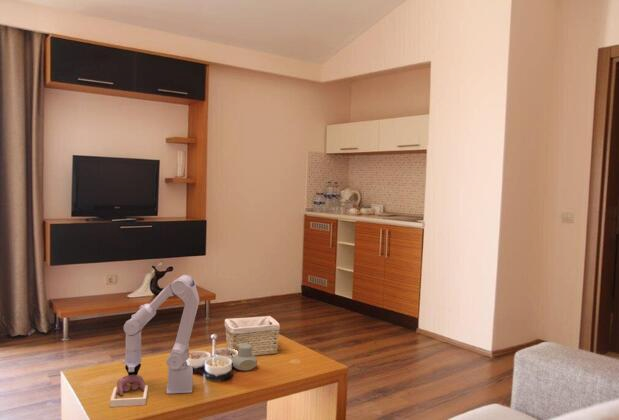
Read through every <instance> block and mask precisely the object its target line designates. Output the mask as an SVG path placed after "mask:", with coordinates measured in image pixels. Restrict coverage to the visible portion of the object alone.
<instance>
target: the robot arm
mask: <svg viewBox="0 0 619 420" xmlns="http://www.w3.org/2000/svg"><path fill="white" fill-rule="evenodd" d="M174 296H177V298H180V299H181V301H182V302H183V303H184V306H183V311H182V315H181V318H180V321H179V322H180V323H179V327H178V330H177V334H176V339H175V342H174V345H173V347H172V348H171V352H170V354H169V356H167V359H166V365H167V367H168V368H167V369H168V371H167V373H168V374H167V384H166V395H171V394H173V395H174V394H189V393H192V392H193V386H194V380H193V376H194V375H193V374H194V373H193V370H194V369H193V366H192V365H188V360H189V357H190V349H189V348H190V344H189V342H190V339H191V336H192V331H193V327H194V323H195V321H196V315H197V311H198V308H199V304H200V296H199V293H198V289H197V282H196V281H195V279H193V277H192V276H191V275H189V274H182V275H180V276H179V277H178V278H176V279H174V280H173V281H172V282H171V283H169V284H168V285H166V286H165V287H164V288H163V289H162V290H161V291H160V292H159V293H158V295H157V296H155V298H153V300H152V301H151V302H150V303H144V304H141V305H140V306H139V308H138V310H137V311H136V313H134V314H131V318H130V319H128V320H126V321H125V323H124V325H123V332H124V333H125V355H124V356H125V357H124V358H125V359H122V360H121V363H122V364H125V367H124V369H125V370H126V372H127V376H128V375H139V371H140V369H141V366H142V364H141V362H142V330H143V329H144V327H145V326H146V325H147V324H148V322H150V321H151V320H152V318H154V317H155V316H156V315H157V309H158V308H159V307H160V306H161V305H162V304H163V303H164V302H165V301H166V300H167V299H168V298H170V297H174ZM129 384H130V385H132V384H133V383H129Z"/></svg>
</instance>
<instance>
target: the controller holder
mask: <svg viewBox="0 0 619 420" xmlns="http://www.w3.org/2000/svg"><path fill="white" fill-rule="evenodd" d="M148 392H149V385H148V384H145V389H144V391H143V395H142V397H129V398H117V395H118V387H117V386H114V387H113V391H112V393H111V396H110V401H109V407H110V408H118V407H133V406H135V407H136V406H146V404H147V400H148V399H147V397H148Z"/></svg>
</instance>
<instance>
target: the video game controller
mask: <svg viewBox="0 0 619 420" xmlns="http://www.w3.org/2000/svg"><path fill="white" fill-rule="evenodd" d="M130 383H133V384H131V387H130V386H129V384H130ZM145 385H146V384H145V382H144V379H143V377H142V376H141V375H139V374H137V375H128V374H127V375H125V376H122V377H120V378H119V379H118V380H117V382H116V387H117V393H118V394H119V395H120V396H121V397H123V395H124V392H125V393H126V392H128V391H130V389H131V390H133V391H136V390H138V387H140V389H141V390H142V391H143V392H144V389H145Z"/></svg>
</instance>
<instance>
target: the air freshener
mask: <svg viewBox="0 0 619 420" xmlns="http://www.w3.org/2000/svg"><path fill="white" fill-rule="evenodd" d="M232 359H233V360H232ZM232 359H231V362H232V361H233V365H232V367H234V369H236V370H238V371H243V372H247V371H250V370H253V369H254V368H255V367H256V366H257V365H258V359H257V357H256V355H255V356H254V355H252V346H251V345H250V344H241V345H239V346H238V355H236V356H235V357H232Z"/></svg>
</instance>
